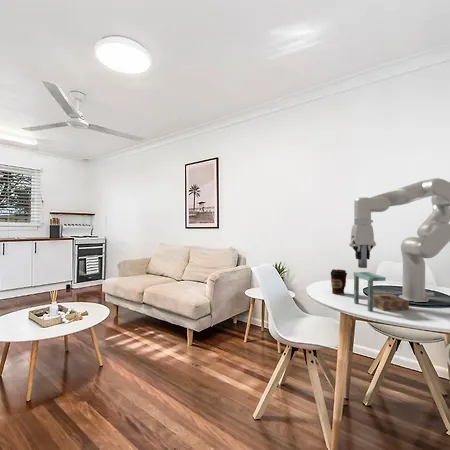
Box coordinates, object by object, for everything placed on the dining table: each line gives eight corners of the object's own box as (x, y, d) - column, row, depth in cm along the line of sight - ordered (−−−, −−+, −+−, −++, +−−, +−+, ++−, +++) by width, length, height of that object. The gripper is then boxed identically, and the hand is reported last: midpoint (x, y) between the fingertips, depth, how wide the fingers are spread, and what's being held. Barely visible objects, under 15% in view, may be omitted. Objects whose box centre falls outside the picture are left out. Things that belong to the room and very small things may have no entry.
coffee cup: (341, 296, 151) (341, 272, 151) (327, 293, 157) (327, 270, 157) (349, 293, 157) (349, 270, 156) (335, 290, 163) (335, 268, 163)
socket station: (390, 301, 141) (390, 271, 141) (409, 310, 128) (409, 276, 128) (353, 302, 139) (353, 272, 139) (369, 311, 126) (369, 277, 126)
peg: (363, 266, 145) (363, 242, 145) (368, 267, 141) (368, 243, 141) (356, 266, 144) (356, 243, 144) (361, 268, 140) (361, 243, 140)
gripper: (373, 222, 147) (373, 257, 147) (342, 222, 145) (342, 258, 145) (383, 222, 140) (383, 259, 140) (351, 222, 137) (351, 260, 138)
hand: (362, 258), depth 143 cm, fingers closed on peg, 4 cm apart
